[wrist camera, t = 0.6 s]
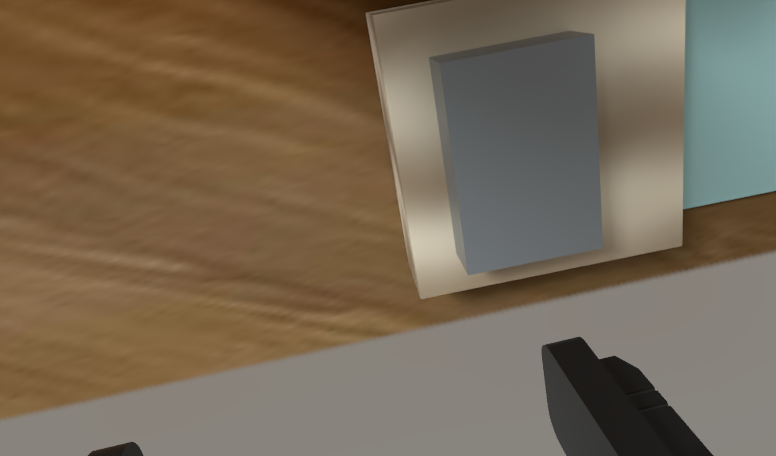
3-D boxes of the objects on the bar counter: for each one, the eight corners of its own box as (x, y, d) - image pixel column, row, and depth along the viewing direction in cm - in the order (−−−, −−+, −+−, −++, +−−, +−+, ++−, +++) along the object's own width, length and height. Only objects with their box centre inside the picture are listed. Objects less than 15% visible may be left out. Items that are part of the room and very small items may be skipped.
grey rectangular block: (428, 57, 25) (439, 63, 23) (570, 30, 25) (594, 33, 23) (456, 253, 28) (468, 275, 26) (580, 228, 29) (602, 248, 26)
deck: (365, 12, 28) (372, 15, 24) (638, -38, 28) (686, -43, 25) (408, 264, 33) (420, 299, 29) (641, 217, 33) (682, 245, 30)
